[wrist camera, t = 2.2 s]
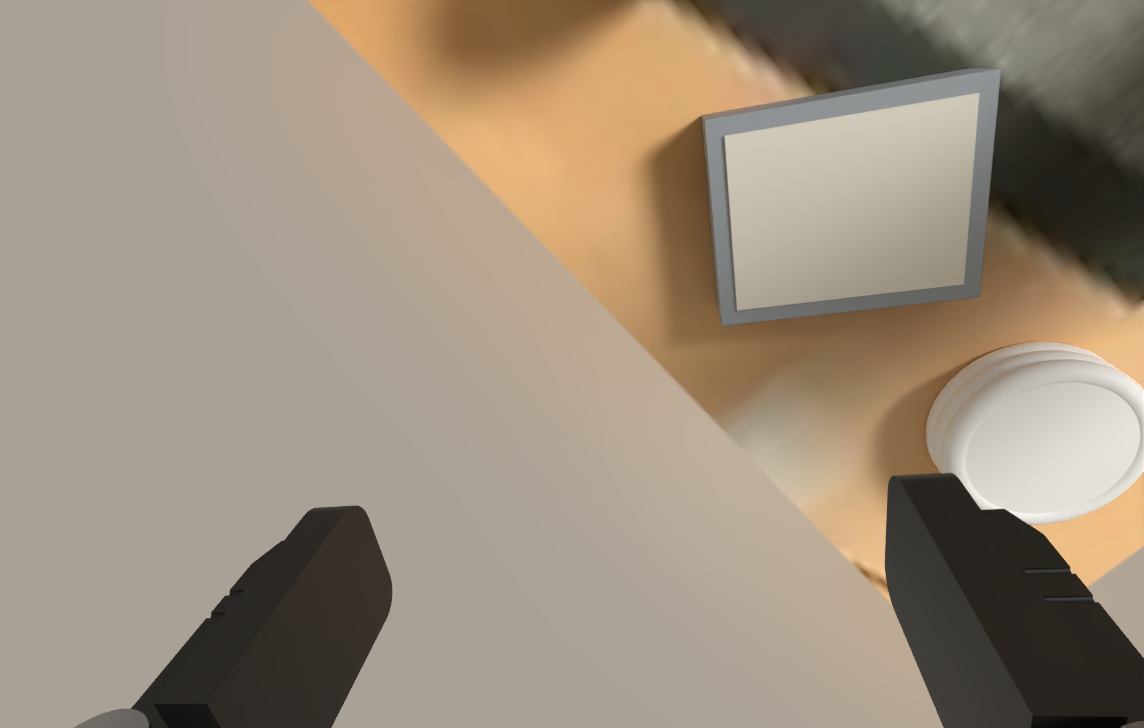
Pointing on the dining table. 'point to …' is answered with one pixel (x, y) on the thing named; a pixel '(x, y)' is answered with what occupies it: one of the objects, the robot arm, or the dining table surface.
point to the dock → (852, 197)
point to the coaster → (1040, 431)
